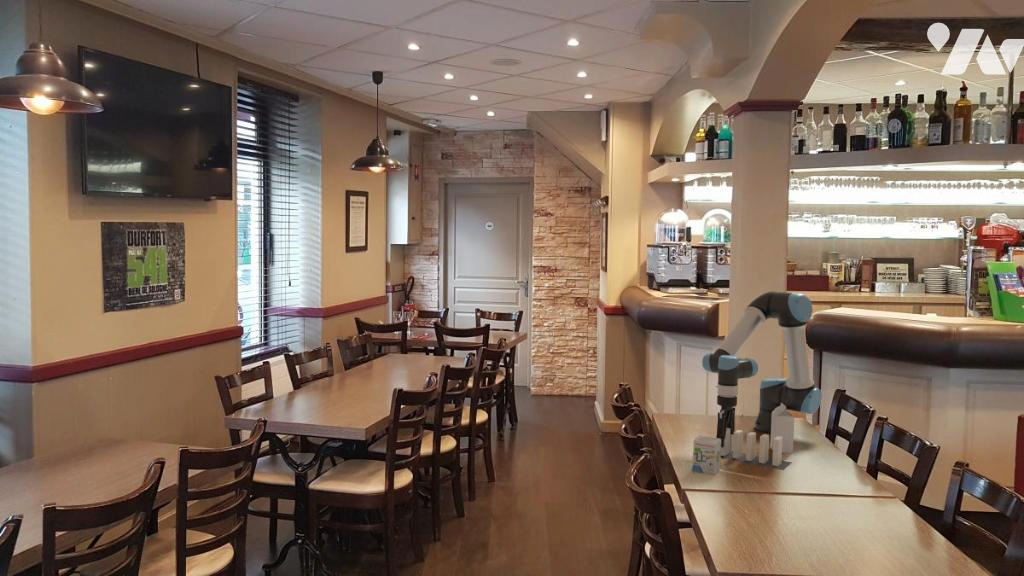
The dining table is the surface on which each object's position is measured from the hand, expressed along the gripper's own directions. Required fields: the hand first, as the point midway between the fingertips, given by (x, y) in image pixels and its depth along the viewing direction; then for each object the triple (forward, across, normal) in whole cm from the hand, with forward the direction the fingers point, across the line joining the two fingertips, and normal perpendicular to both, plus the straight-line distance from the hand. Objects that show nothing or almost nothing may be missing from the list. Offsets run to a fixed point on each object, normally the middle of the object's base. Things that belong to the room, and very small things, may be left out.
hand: (725, 452), depth 286 cm
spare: (+1, 0, 0) cm, 1 cm away
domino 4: (+1, 0, +20) cm, 20 cm away
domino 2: (+1, 0, +10) cm, 10 cm away
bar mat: (+1, 0, +10) cm, 10 cm away
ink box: (+1, +23, +1) cm, 23 cm away
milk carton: (+1, -21, +16) cm, 26 cm away
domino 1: (+1, 0, +5) cm, 5 cm away
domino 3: (+1, 0, +15) cm, 15 cm away
